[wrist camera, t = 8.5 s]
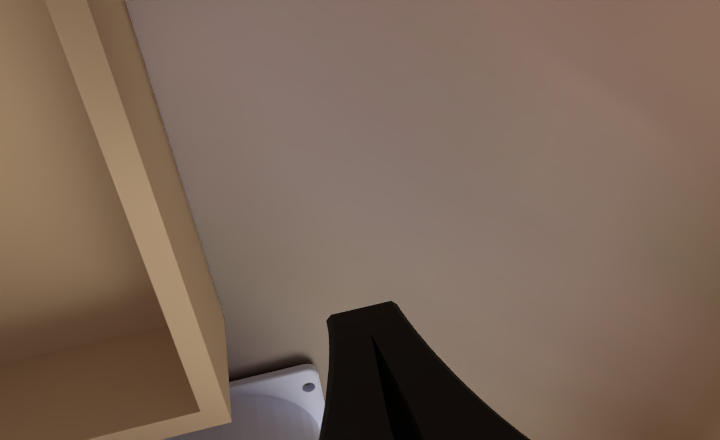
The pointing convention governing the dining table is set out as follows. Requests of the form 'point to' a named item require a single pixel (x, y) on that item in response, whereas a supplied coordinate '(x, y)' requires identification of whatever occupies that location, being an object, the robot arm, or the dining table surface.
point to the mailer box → (96, 241)
